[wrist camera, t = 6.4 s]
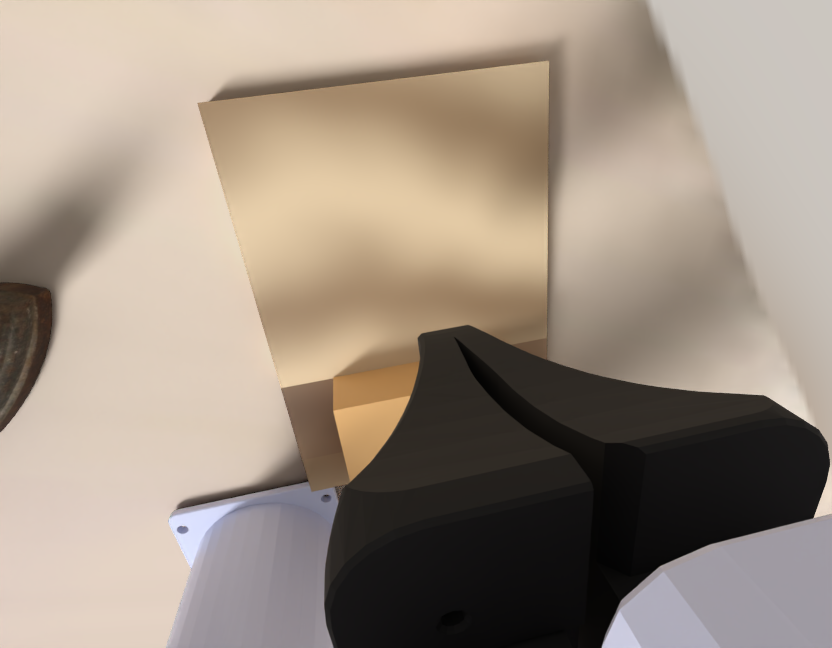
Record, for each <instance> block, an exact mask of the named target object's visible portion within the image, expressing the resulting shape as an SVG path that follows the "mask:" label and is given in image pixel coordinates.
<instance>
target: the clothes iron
mask: <svg viewBox="0 0 832 648" xmlns="http://www.w3.org/2000/svg"><path fill="white" fill-rule="evenodd" d="M51 326H52V303H51V294H50V291H49V290H48V289H47V288H41V287H37V286H33V285H27V284H20V283H0V432H1V431H2V430H3V429H4V428H5V427H6V425H7V424H8V423H9V422H10V421H11V419H12V418H13V417H14V416H15V414H16V413H17V411H18V410H19V408H20V407H21V406H22V404H23V403H24V401H25V399H26V398H27V396H28V394H29V393H30V391H31V389H32V387H33V385H34V383H35V381H36V379H37V376H38V374H39V372H40V368H41V366H42V364H43V362H44V359H45V356H46V351H47V347H48V344H49V339H50V334H51Z"/></svg>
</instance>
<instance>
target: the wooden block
mask: <svg viewBox="0 0 832 648" xmlns="http://www.w3.org/2000/svg"><path fill="white" fill-rule="evenodd" d="M419 362H420V361H418V362H413V363H407V364H402V365H397V366H392V367H386V368H381V369H376V370H370V371H365V372H360V373H354V374H349V375H344V376H338V377H333V412H334V416H335V421H336V425H337V429H338V433H339V437H340V442H341V446H342V450H343V454H344V458H345V462H346V467H347V471H348V475H349V479H350V482H351V481H352V480H353V479H354V478H355V477H356V476H357V475H358V474H359V473H360V472H361V471H362V470H363V469H364V468H365V467H366V466H367V465H368V464H369V463H370V462H371V461H372V460H373V458H374V457H375V456H376V454H377V453H378V452H379V450H380V449H381V448H382V446H383V445H384V444H385V442H386V441H387V440H388V438H389V437H390V435H391V434H392V432H393V431H394V429H395V427H396V426H397V424H398V422H399V420H400V418H401V416H402V414H403V413H404V410H405V408H406V406H407V404H408V401H409V399H410V396H411V394H412V391H413V388H414V384H415V380H416V377H417V373H418V368H419Z"/></svg>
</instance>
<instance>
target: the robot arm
mask: <svg viewBox="0 0 832 648" xmlns="http://www.w3.org/2000/svg"><path fill="white" fill-rule="evenodd" d="M417 339H418V346H419V354H420V362H419V368H418V373H417V377H416V380H415V384H414V388H413V391H412V394H411V396H410V399H409V401H408V404H407V406H406V408H405V410H404V413H403V414H402V416H401V418H400V420H399V422H398V424H397V426H396V427H395V429H394V431H393V432H392V434H391V435H390V437H389V438H388V440H387V441H386V442H385V444H384V445H383V446H382V448H381V449H380V450H379V452H378V453H377V454H376V456H375V457H374V458H373V460H372V461H371V462H370V463H369V464H368V465H367V466H366V467H365V468H364V469H363V470H362V471H361V472H360V473H359V474H358V475H357V476H356V477H355V478H354V479H353V480H352V481H351V482H350V483H349V484H348V485H346V486H345V487H344V489H343V490H342V493H341V496H340V499H339V501H338V497H337V493H336V489H335V487H332V488H328V489H323V490H318V491H314V492H311V488H310V485H309V482H304V483H300V484H295V485H290V486H286V487H281V488H276V489H271V490H267V491H262V492H257V493H253V494H248V495H243V496H238V497H234V498H229V499H224V500H220V501H215V502H210V503H206V504H201V505H196V506H191V507H187V508H182V509H178V510H175V511H173V512H172V513H171V515H170V518H169V520H168V523H169V525H170V527H171V529H172V531H173V533H174V535H175V537H176V540H177V542H178V544H179V546H180V548H181V550H182V552H183V554H184V556H185V558H186V560H187V562H188V564H189V566H190V568H191V571H190V574H189V577H188V580H187V583H186V586H185V590H184V593H183V596H182V599H181V602H180V605H179V608H178V611H177V614H176V617H175V620H174V623H173V627H172V630H171V633H170V636H169V639H168V642H167V645H166V648H832V514H829V515H825V516H821V517H817V518H814V515H815V512H816V509H817V506H818V504H819V501H820V498H821V495H822V493H823V490H824V487H825V484H826V481H827V476H828V472H829V467H830V459H829V451H828V444H827V442H826V440H825V439H824V437H823V435H822V434H821V432H820V431H819V430H818V429H817V428H815V427H814V426H812V425H811V424H809V423H807V422H806V421H804V420H803V419H801V418H800V417H798V416H796V415H795V414H793V413H792V412H790V411H789V410H787V409H785V408H784V407H782V406H781V405H779V404H778V403H776V402H774V401H773V400H771V399H770V398H768V397H766V396H764V395H747V394H729V393H711V392H696V391H687V390H678V389H670V388H662V387H654V386H648V385H642V384H636V383H630V382H625V381H621V380H616V379H611V378H606V377H602V376H598V375H593V374H589V373H586V372H583V371H579V370H576V369H572V368H569V367H566V366H562V365H560V364H557V363H554V362H551V361H548V360H546V359H543V358H541V357H538V356H535V355H533V354H530V353H528V352H526V351H523V350H521V349H519V348H517V347H515V346H512V345H510V344H508V343H506V342H504V341H502V340H500V339H498V338H496V337H494V336H492V335H490V334H488V333H486V332H484V331H481V330H479V329H477V328H475V327H473V326H470V325H464V326H458V327H453V328H448V329H442V330H437V331H431V332H426V333H421V334H420V336H419V337H418V338H417ZM323 495H330V496H328V497H324V496H323ZM182 526H186V527H182Z"/></svg>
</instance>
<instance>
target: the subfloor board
mask: <svg viewBox="0 0 832 648" xmlns="http://www.w3.org/2000/svg"><path fill="white" fill-rule="evenodd" d="M198 107H199V110H200V113H201V117H202V120H203V124H204V127H205V131H206V134H207V137H208V141H209V144H210V148H211V151H212V154H213V158H214V161H215V165H216V168H217V171H218V175H219V178H220V182H221V185H222V188H223V192H224V195H225V199H226V202H227V206H228V209H229V212H230V216H231V219H232V223H233V226H234V229H235V233H236V236H237V240H238V243H239V246H240V250H241V253H242V257H243V260H244V263H245V267H246V270H247V274H248V277H249V280H250V284H251V287H252V291H253V294H254V298H255V301H256V304H257V308H258V311H259V315H260V318H261V321H262V325H263V328H264V332H265V335H266V338H267V342H268V345H269V349H270V352H271V355H272V359H273V362H274V366H275V369H276V373H277V376H278V379H279V383H280V386H281V390H282V393H283V397H284V400H285V403H286V407H287V410H288V414H289V417H290V420H291V424H292V427H293V431H294V434H295V437H296V441H297V444H298V448H299V451H300V454H301V458H302V461H303V465H304V468H305V471H306V475H307V478H308V482H309V485H310V488H311V492H314V491H318V490H323V489H328V488H332V487H337V486H342V485H346V484H349V483H350V479H349V475H348V471H347V467H346V462H345V458H344V454H343V450H342V446H341V442H340V437H339V433H338V429H337V425H336V421H335V416H334V412H333V377H338V376H344V375H349V374H354V373H360V372H365V371H370V370H376V369H381V368H386V367H392V366H397V365H402V364H407V363H413V362H418V361H420V354H419V346H418V339H417V338H418V337H419V336H420V334H421V333H426V332H431V331H437V330H442V329H448V328H453V327H458V326H464V325H470V326H473V327H475V328H477V329H479V330H481V331H484V332H486V333H488V334H490V335H492V336H494V337H496V338H498V339H500V340H502V341H504V342H506V343H508V344H510V345H512V346H515V347H517V348H519V349H521V350H523V351H526V352H528V353H530V354H533V355H535V356H538V357H541V358H543V359H546V360H547V261H548V133H549V61H541V62H533V63H525V64H516V65H508V66H500V67H491V68H483V69H475V70H467V71H458V72H450V73H442V74H434V75H425V76H417V77H409V78H400V79H392V80H384V81H376V82H367V83H359V84H351V85H343V86H334V87H326V88H318V89H309V90H301V91H293V92H285V93H276V94H268V95H260V96H252V97H243V98H235V99H227V100H218V101H210V102H202V103H198Z"/></svg>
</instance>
